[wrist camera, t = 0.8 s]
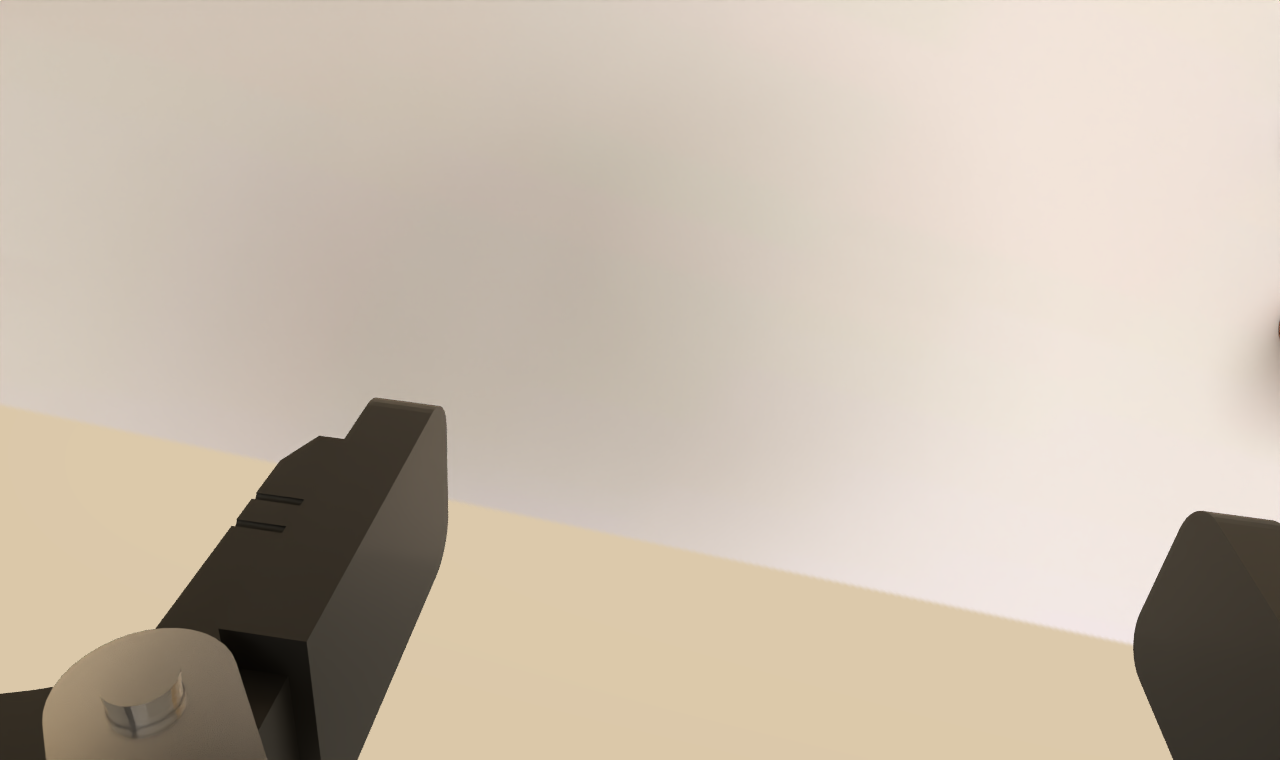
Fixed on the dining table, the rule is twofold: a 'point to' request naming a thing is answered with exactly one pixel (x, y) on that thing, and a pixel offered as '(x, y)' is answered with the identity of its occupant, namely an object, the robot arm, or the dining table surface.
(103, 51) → the dining table surface
